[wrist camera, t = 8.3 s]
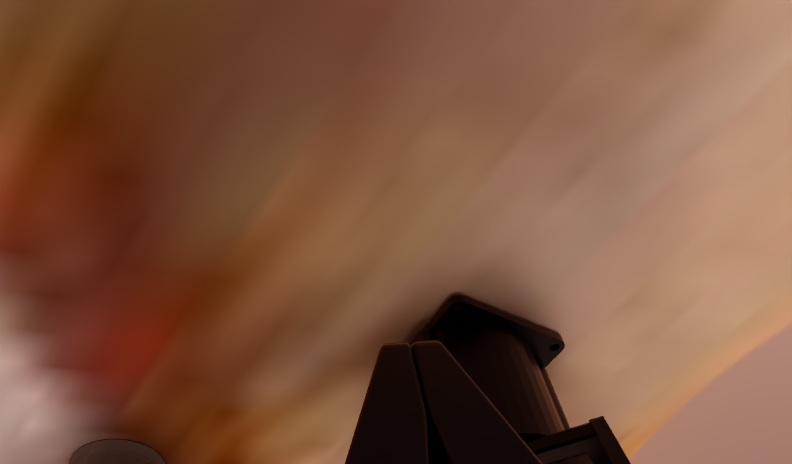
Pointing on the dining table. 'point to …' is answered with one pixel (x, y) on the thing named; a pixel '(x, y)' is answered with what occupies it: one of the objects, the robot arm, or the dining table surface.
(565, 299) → the dining table surface
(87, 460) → the beverage cup
